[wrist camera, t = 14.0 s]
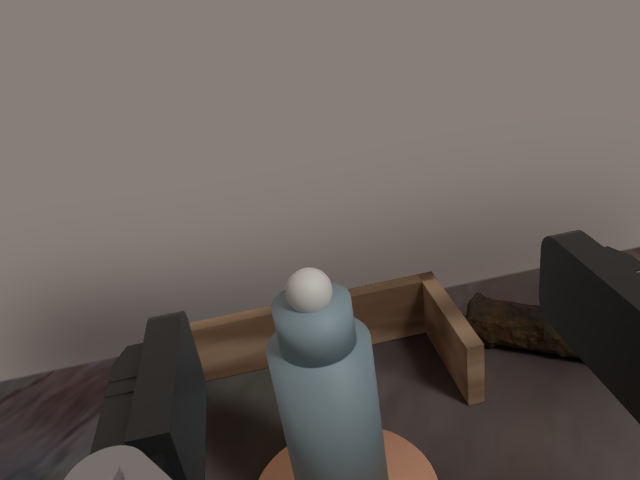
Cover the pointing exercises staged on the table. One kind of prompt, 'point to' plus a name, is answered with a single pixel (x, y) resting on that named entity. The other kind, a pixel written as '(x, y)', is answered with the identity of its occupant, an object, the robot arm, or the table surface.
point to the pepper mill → (325, 382)
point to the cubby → (378, 316)
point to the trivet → (401, 456)
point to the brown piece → (514, 326)
